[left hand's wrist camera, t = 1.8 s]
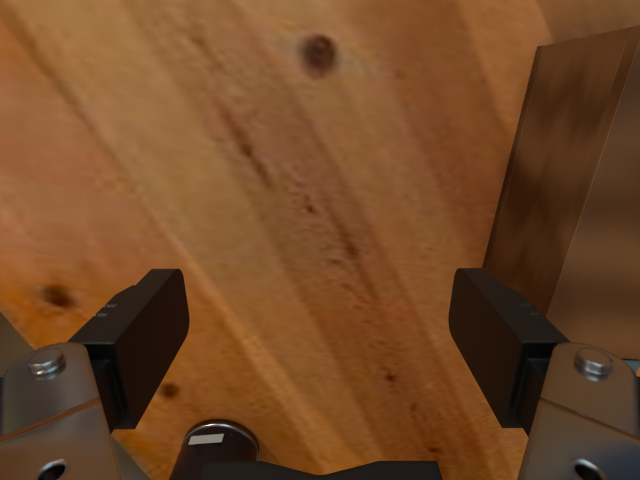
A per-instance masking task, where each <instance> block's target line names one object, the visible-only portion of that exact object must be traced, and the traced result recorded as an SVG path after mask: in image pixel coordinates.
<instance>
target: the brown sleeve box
mask: <svg viewBox="0 0 640 480" xmlns="http://www.w3.org/2000/svg"><path fill="white" fill-rule="evenodd" d="M483 268H485V269H487V270H488V271H489V272H490V273H491V274H492V275H493V276H494V277H495V278H496V279H497V280H498V281H499V282H500V283H501V284H502V285H506V286H508V287H510V288H512V289H514V290H515V291H517V292H519V293H521V294H522V295H523V296H524V297H525V298H526V299H527V300H528V301H529V302H530V303H531V304H532V306H535V307H536V308H537V309H538V310H539V311H540V312H541V315H542V316H545V317H546V318H547V319H548V320H549V321H550V322H551V323H552V324H553V325H554V326H555V327H556V328H557V329H558V330H559V331H560V332H561V333H562V334H563V335H564V336H565V337H566V338H567V339H568V340H569V341H570V342H577V343H584V344H588V345H592V346H595V347H598V348H601V349H604V350H606V351H608V352H610V353H612V354H614V355H616V356H618V357H619V358H626V359H640V25H639V26H634V27H630V28H625V29H620V30H616V31H611V32H606V33H602V34H597V35H592V36H588V37H583V38H578V39H574V40H569V41H564V42H560V43H555V44H550V45H546V46H539V47H537V51H536V55H535V59H534V63H533V67H532V71H531V75H530V79H529V83H528V87H527V91H526V95H525V99H524V103H523V107H522V111H521V115H520V119H519V123H518V127H517V131H516V135H515V139H514V143H513V147H512V151H511V155H510V159H509V163H508V167H507V171H506V175H505V179H504V183H503V187H502V191H501V195H500V199H499V203H498V207H497V211H496V215H495V219H494V223H493V227H492V231H491V235H490V239H489V243H488V247H487V252H486V256H485V260H484V264H483Z"/></svg>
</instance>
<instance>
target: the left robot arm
mask: <svg viewBox="0 0 640 480" xmlns="http://www.w3.org/2000/svg"><path fill="white" fill-rule="evenodd" d="M188 329H189V311H188V304H187V297H186V291H185V284H184V277H183V274H182V271H181V270H180V269H151V270H150V271H149V272H148V273H147V274H146V275H145V276H144V277H143V278H142V279H141V280H140V281H139V282H138V283H137V284H136V285H132V286H131V287H129V288H127V289H125V290H123V291H121V292H120V293H118V294H116V295H115V296H114V297H113V298H112V299H111V300H110V301H109V302H108V303H107V304H106V305H105V307H102V308H101V309H100V310H99V311H98V312H97V313H96V316H93V317H92V318H91V319H90V320H89V321H88V322H87V323H86V324H85V325H84V326H83V327H82V328H81V329H80V330H79V331H78V332H77V333H76V334H75V335H74V336H73V337H71V338H70V339H69V340H68V341H67V342H63V343H56V344H52V345H48V346H45V347H42V348H39V349H36V350H34V351H32V352H30V353H28V354H26V355H24V356H23V357H21V358H19V359H18V360H17V361H15V362H14V363H13V364H12V365H11V366H9V368H8V369H7V370H6V372H5V374H4V376H3V377H1V378H0V480H123V479H122V475H121V471H120V468H119V464H118V460H117V457H116V453H115V449H114V446H113V442H112V439H111V433H112V432H113V430H114V429H135V428H136V426H137V424H138V423H139V421H140V419H141V417H142V416H143V414H144V412H145V410H146V408H147V407H148V405H149V403H150V401H151V399H152V398H153V396H154V394H155V392H156V390H157V389H158V387H159V385H160V383H161V381H162V380H163V378H164V376H165V374H166V372H167V371H168V369H169V367H170V365H171V363H172V362H173V360H174V358H175V356H176V355H177V353H178V351H179V349H180V347H181V346H182V344H183V342H184V340H185V338H186V336H187V333H188ZM449 329H450V333H451V336H452V338H453V340H454V341H455V343H456V345H457V347H458V349H459V350H460V352H461V354H462V356H463V358H464V360H465V361H466V363H467V365H468V367H469V369H470V370H471V372H472V374H473V376H474V378H475V379H476V381H477V383H478V385H479V387H480V389H481V390H482V392H483V394H484V396H485V398H486V399H487V401H488V403H489V405H490V407H491V409H492V410H493V412H494V414H495V416H496V418H497V419H498V421H499V423H500V425H501V427H502V428H523V429H524V431H525V432H526V434H527V435H528V437H529V439H528V442H527V446H526V449H525V453H524V457H523V460H522V464H521V468H520V471H519V475H518V479H517V480H640V377H637V376H636V374H635V372H634V370H633V369H632V368H631V366H629V365H628V364H627V363H626V362H625V361H623V360H622V359H621V358H619V357H618V356H616V355H614V354H612V353H610V352H608V351H606V350H604V349H601V348H598V347H595V346H592V345H588V344H584V343H577V342H570V341H569V340H568V339H567V338H566V337H565V336H564V335H563V334H562V333H561V332H560V331H559V330H558V329H557V328H556V327H555V326H554V325H553V324H552V323H551V322H550V321H549V320H548V319H547V318H546V317H545V316H542V315H541V312H540V311H539V310H538V309H537V308H536V307H535V306H532V304H531V303H530V302H529V301H528V300H527V299H526V298H525V297H524V296H523V295H522V294H521V293H519V292H517V291H515V290H514V289H512V288H510V287H508V286H506V285H502V284H501V283H500V282H499V281H498V280H497V279H496V278H495V277H494V276H493V275H492V274H491V273H490V272H489V271H488V270H487V269H485V268H459V269H457V271H456V273H455V276H454V283H453V290H452V297H451V303H450V310H449ZM258 455H259V445H258V442H257V440H256V438H255V436H254V435H253V434H252V433H251V432H250V431H249V430H248V429H246V428H245V427H243V426H241V425H239V424H237V423H235V422H231V421H227V420H209V421H204V422H201V423H199V424H197V425H195V426H194V427H192V428H191V429H190V430H189V431H188V432H187V434H186V436H185V438H184V440H183V443H182V446H181V450H180V453H179V455H178V458H177V461H176V463H175V465H174V468H173V470H172V473H171V475H170V478H169V480H443V479H442V476H441V473H440V470H439V467H438V463H437V461H377V462H373V463H369V464H366V465H362V466H358V467H354V468H350V469H346V470H342V471H338V472H334V473H330V474H326V475H314V474H310V473H306V472H302V471H298V470H294V469H290V468H286V467H282V466H278V465H274V464H271V463H267V462H263V461H257V460H258Z"/></svg>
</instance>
